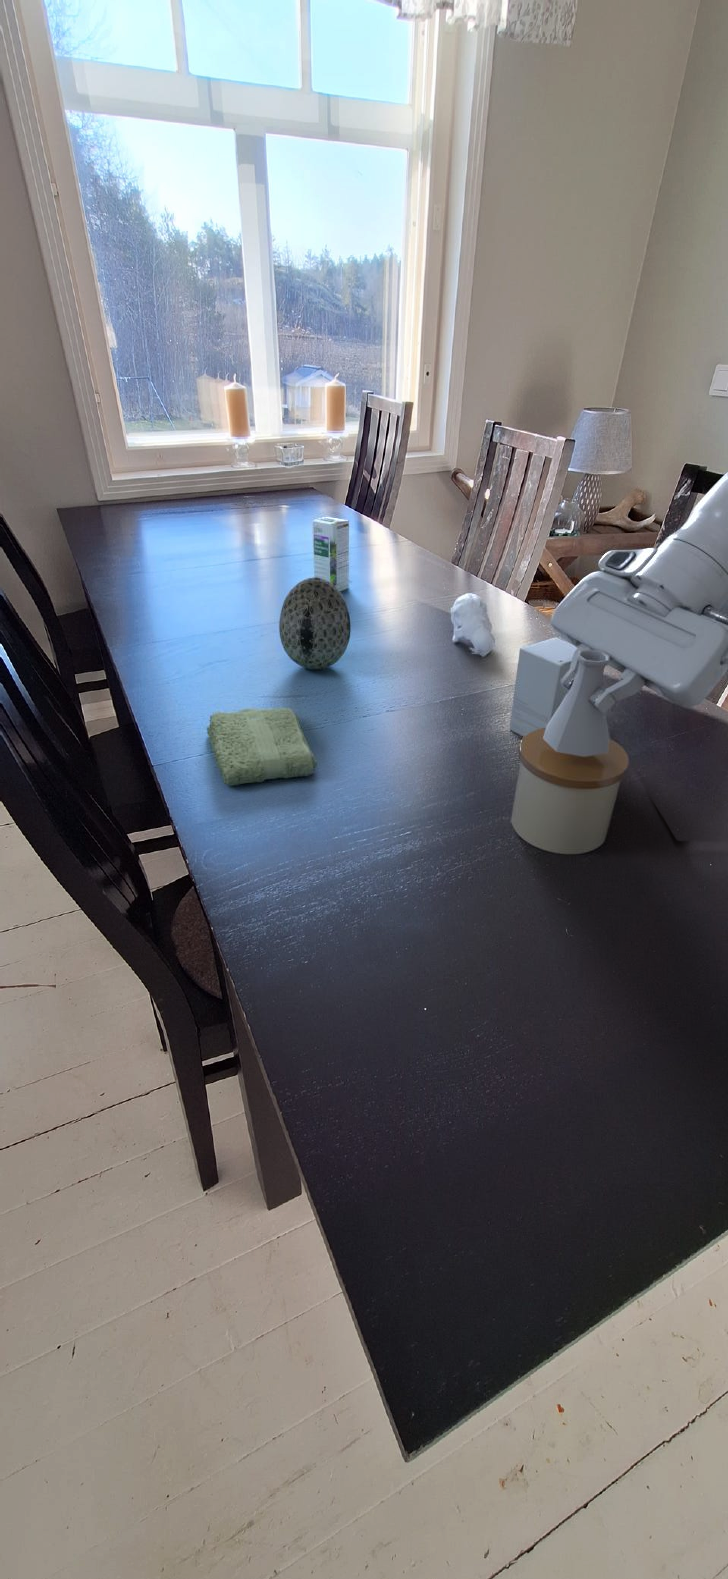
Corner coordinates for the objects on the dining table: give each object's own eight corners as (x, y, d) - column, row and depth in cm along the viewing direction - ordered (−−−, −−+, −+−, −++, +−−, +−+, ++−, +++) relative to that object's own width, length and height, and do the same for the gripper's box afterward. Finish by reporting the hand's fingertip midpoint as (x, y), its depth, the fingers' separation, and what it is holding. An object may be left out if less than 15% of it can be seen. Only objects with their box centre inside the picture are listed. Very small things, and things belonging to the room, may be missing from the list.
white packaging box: (581, 736, 99) (598, 653, 92) (544, 750, 95) (559, 665, 88) (542, 715, 104) (556, 635, 97) (506, 728, 100) (518, 646, 93)
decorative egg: (293, 650, 123) (288, 565, 115) (357, 656, 121) (357, 570, 113) (272, 677, 114) (266, 587, 105) (341, 684, 112) (341, 593, 103)
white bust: (483, 588, 125) (510, 617, 116) (476, 631, 131) (502, 662, 122) (450, 590, 124) (475, 620, 115) (445, 634, 129) (468, 665, 121)
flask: (536, 724, 78) (550, 640, 72) (601, 725, 78) (620, 641, 72) (548, 758, 72) (565, 669, 66) (618, 759, 72) (641, 671, 66)
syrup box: (313, 589, 151) (310, 520, 143) (329, 583, 155) (328, 515, 147) (333, 595, 148) (333, 524, 140) (350, 587, 152) (350, 518, 144)
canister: (593, 796, 86) (610, 726, 81) (622, 856, 77) (644, 781, 71) (500, 796, 86) (511, 725, 80) (518, 855, 77) (531, 780, 71)
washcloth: (294, 716, 103) (293, 696, 101) (321, 779, 89) (320, 757, 87) (205, 727, 100) (202, 707, 98) (218, 794, 86) (215, 772, 84)
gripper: (772, 647, 64) (665, 759, 66) (619, 582, 79) (536, 675, 81) (753, 607, 60) (640, 728, 62) (596, 546, 75) (509, 645, 77)
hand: (580, 697), depth 72 cm, fingers closed on flask, 3 cm apart
